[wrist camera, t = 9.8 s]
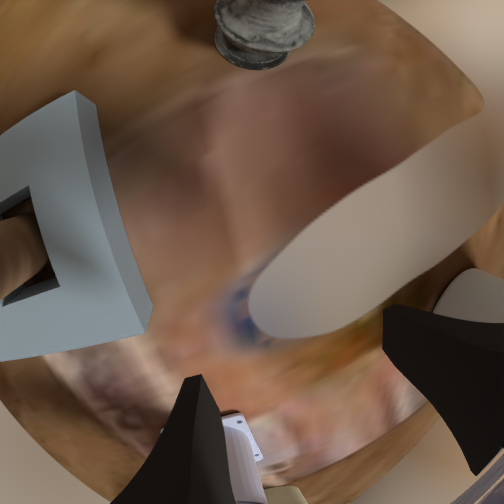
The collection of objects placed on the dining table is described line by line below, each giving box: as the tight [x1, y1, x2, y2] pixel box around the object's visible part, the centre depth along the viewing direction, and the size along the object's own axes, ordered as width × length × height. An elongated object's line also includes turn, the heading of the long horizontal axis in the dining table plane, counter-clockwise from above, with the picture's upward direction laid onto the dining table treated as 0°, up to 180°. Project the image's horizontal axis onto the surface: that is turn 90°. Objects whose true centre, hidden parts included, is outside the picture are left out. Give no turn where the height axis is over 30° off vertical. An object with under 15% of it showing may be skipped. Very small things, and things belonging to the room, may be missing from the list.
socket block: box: [0, 90, 153, 362], centre depth 13 cm, size 14×14×4 cm
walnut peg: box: [0, 211, 51, 300], centre depth 11 cm, size 4×4×7 cm
